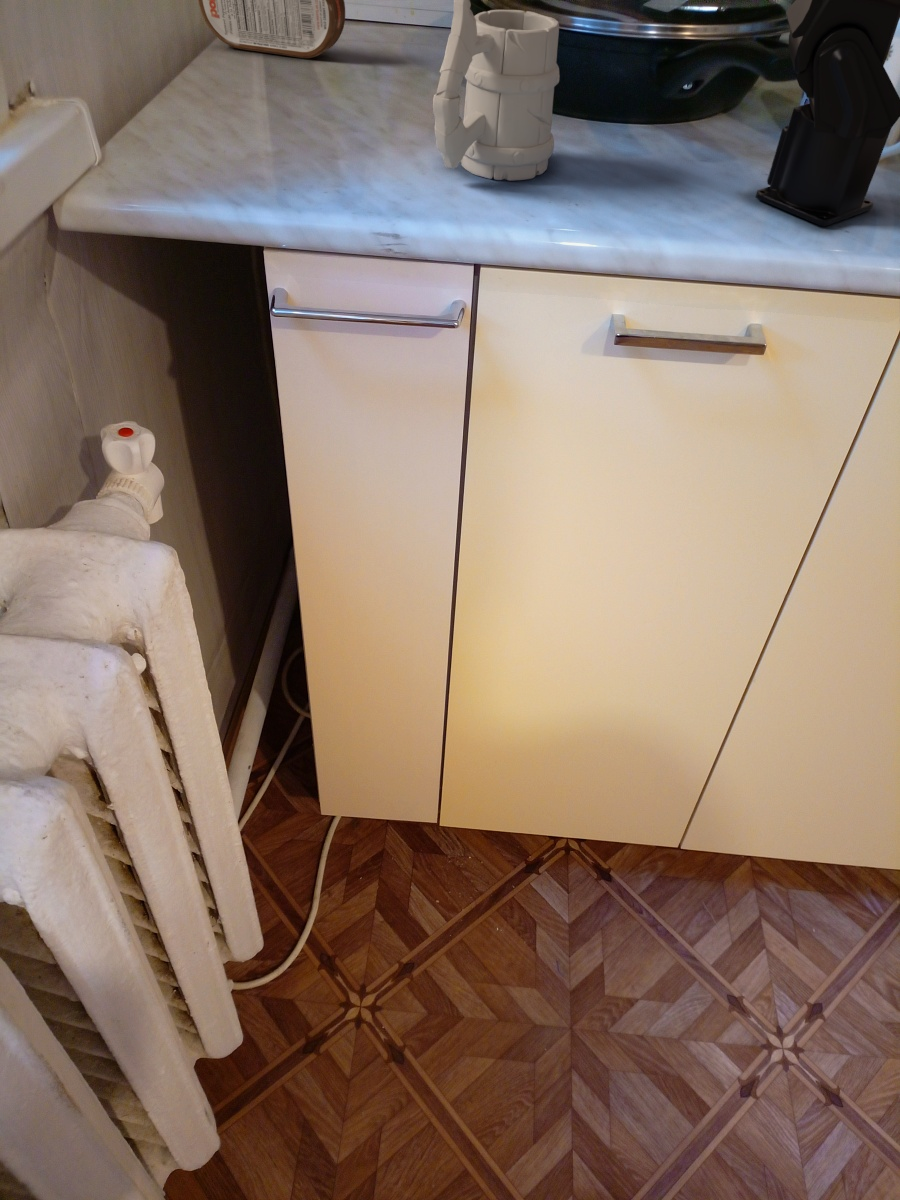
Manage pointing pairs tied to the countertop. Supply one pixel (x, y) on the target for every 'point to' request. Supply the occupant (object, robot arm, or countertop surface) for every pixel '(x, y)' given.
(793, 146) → the robot arm
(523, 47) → the mug
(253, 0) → the tin
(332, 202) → the countertop surface
